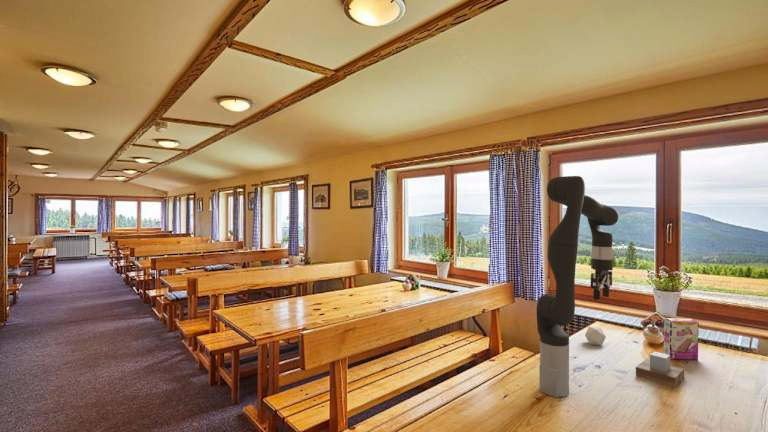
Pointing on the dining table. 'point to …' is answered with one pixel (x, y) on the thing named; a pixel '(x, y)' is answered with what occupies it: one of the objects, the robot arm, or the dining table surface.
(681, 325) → the candy bar box
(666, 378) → the walnut block
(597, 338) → the die
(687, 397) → the dining table surface
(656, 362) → the slate cube
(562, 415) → the dining table surface
